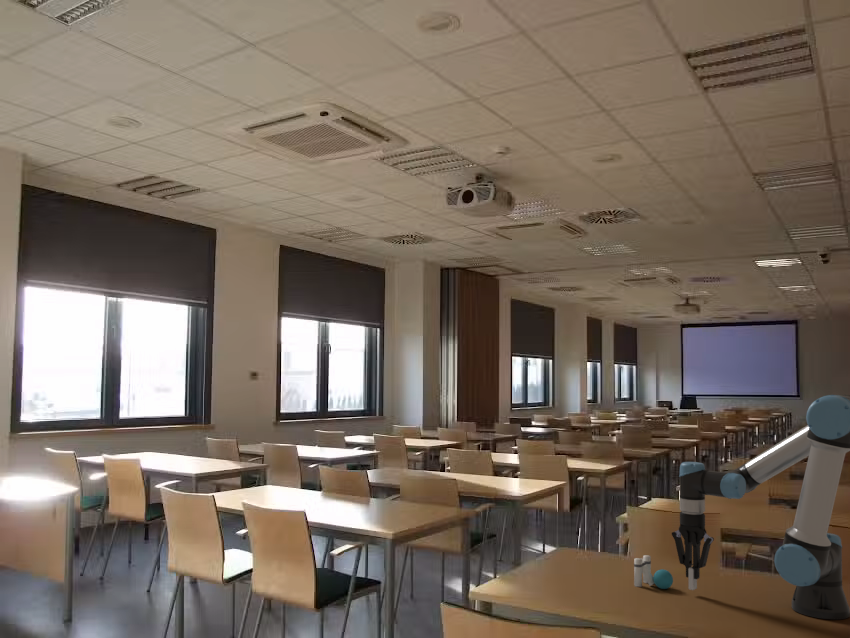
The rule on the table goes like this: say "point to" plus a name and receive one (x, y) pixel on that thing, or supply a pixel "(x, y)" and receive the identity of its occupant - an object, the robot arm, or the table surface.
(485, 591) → the table surface
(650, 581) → the front pin
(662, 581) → the ball
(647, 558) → the pin
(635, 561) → the pin
